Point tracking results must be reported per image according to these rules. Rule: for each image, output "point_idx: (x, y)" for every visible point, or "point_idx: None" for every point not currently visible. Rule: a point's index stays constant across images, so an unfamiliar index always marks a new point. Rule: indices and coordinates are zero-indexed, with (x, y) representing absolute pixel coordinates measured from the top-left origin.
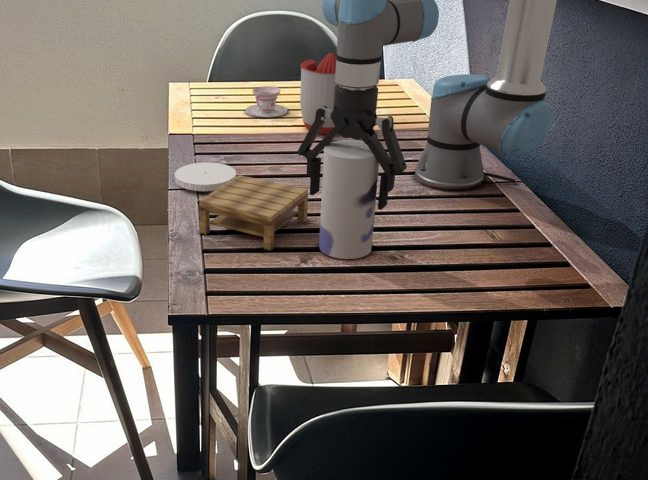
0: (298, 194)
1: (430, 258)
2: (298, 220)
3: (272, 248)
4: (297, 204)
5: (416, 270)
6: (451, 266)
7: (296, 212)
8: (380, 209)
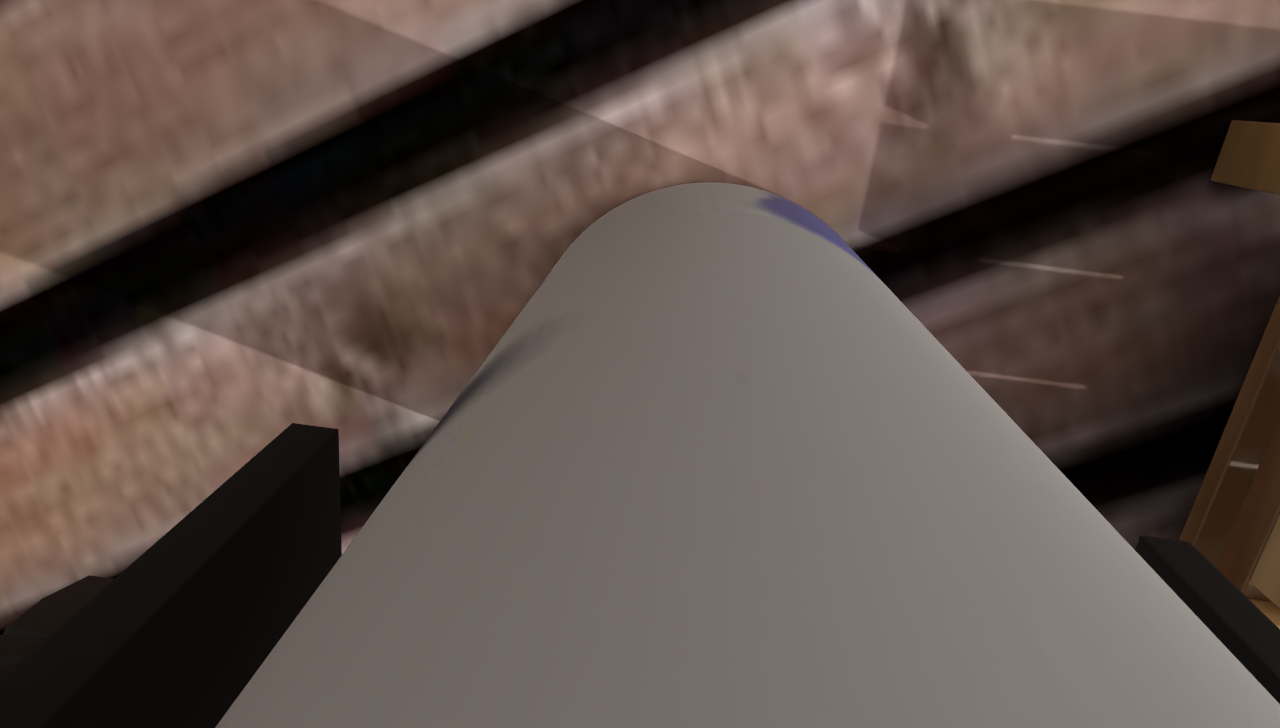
0: None
1: (184, 413)
2: None
3: (1220, 155)
4: None
5: (187, 225)
6: (38, 357)
7: None
8: (302, 425)
